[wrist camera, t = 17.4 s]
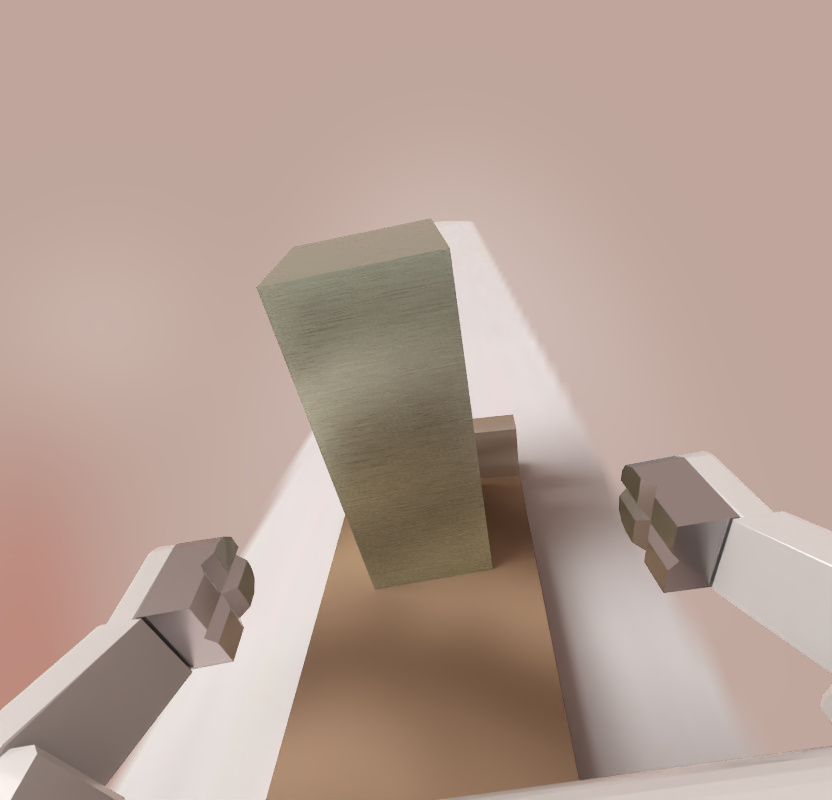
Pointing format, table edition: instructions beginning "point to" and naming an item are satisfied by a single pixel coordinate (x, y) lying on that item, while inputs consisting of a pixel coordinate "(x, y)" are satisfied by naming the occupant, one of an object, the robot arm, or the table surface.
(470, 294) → the table surface
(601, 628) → the table surface
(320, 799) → the shelf board
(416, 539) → the tea tin
